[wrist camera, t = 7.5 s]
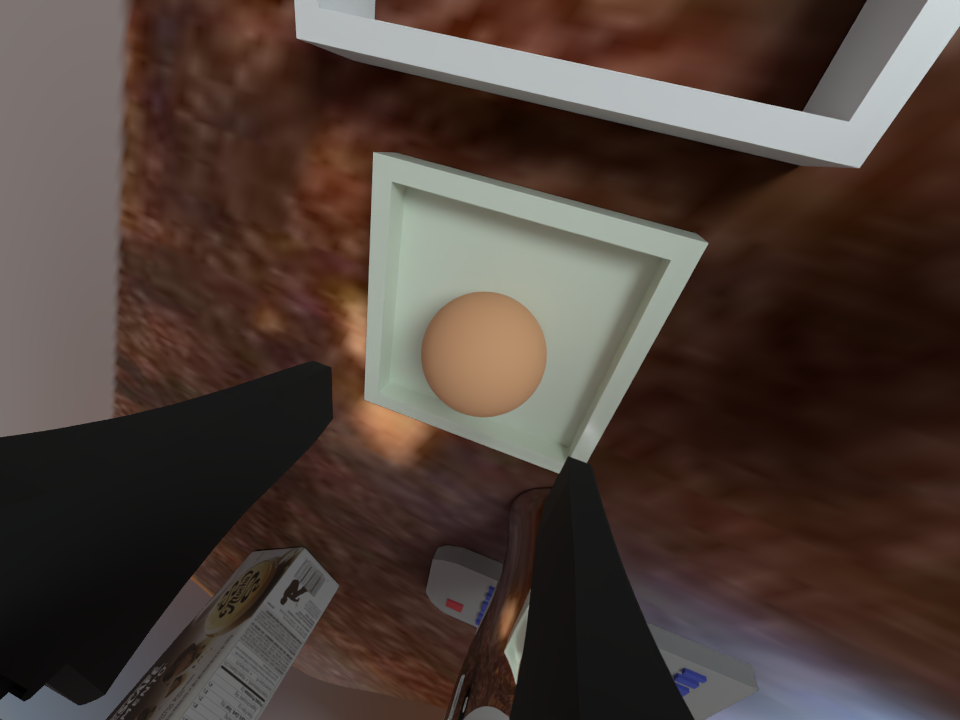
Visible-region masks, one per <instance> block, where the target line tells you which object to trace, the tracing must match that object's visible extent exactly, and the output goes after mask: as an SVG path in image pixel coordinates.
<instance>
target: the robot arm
mask: <svg viewBox="0 0 960 720" xmlns="http://www.w3.org/2000/svg"><path fill="white" fill-rule="evenodd" d="M332 419H333V406H332V375H331V367H329V366H326V365H323V364H321V363H318V362H315V361H311V362H307V363H304V364H301V365H297V366H294V367H291V368H288V369H285V370H282V371H279V372H276V373H273V374H270V375H267V376H264V377H261V378H258V379H255V380H252V381H249V382H246V383H243V384H240V385H237V386H234V387H231V388H228V389H224V390H221V391H218V392H214V393H211V394H208V395H204V396H201V397H197V398H194V399H191V400H187V401H184V402H180V403H177V404H173V405H169V406H165V407H161V408H157V409H153V410H149V411H144V412H140V413H136V414H131V415H127V416H123V417H118V418H113V419H108V420H102V421H97V422H92V423H87V424H81V425H75V426H70V427H65V428H59V429H54V430H47V431H42V432H34V433H28V434H21V435H14V436H7V437H0V699H2V697H4V696H5V695H6V694H7V693H8V692H10V693H11V694H13V695H14V696H16V697H18V698H19V699H21V700H23V701H26V700H28V699H30V698H31V697H32V696H33V695H34V694H35V693H36V692H37V691H38V690H39V689H41V688H42V687H43V686H44V685H45V686H47V687H49V688H50V689H52V690H54V691H55V692H57V693H59V694H61V695H62V696H64V697H66V698H67V699H69V700H71V701H72V702H74V703H76V704H77V705H83V704H87V703H89V702H91V701H94V700H96V699H98V698H100V697H102V696H103V695H105V694H106V692H107V691H108V689H109V688H110V687H111V685H112V684H113V682H114V680H115V679H116V678H117V676H118V675H119V673H120V672H121V671H122V669H123V668H124V666H125V665H126V664H127V662H128V661H129V659H130V658H131V657H132V655H133V654H134V652H135V651H136V650H137V648H138V647H139V645H140V644H141V642H142V641H143V640H144V638H145V637H146V635H147V634H148V633H149V631H150V630H151V628H152V627H153V626H154V625H155V623H156V622H157V620H158V619H159V618H160V617H161V615H162V614H163V613H164V611H165V610H166V609H167V607H168V606H169V605H170V603H171V602H172V601H173V599H174V598H175V597H176V595H177V594H178V593H179V591H180V590H181V589H182V587H183V586H184V585H185V583H186V582H187V581H188V580H189V579H190V577H191V576H192V575H193V574H194V572H195V571H196V570H197V569H198V568H199V566H200V565H201V564H202V563H203V561H204V560H205V559H206V558H207V556H208V555H209V554H210V553H211V551H212V550H213V549H214V548H215V547H216V545H217V544H218V543H219V542H220V541H221V539H222V538H223V537H224V536H225V535H226V534H227V532H228V531H229V530H230V529H231V528H232V526H233V525H234V524H235V523H236V522H237V521H238V519H239V518H240V517H241V516H242V515H243V514H244V513H245V512H246V511H247V510H248V509H249V508H250V507H251V506H252V505H253V504H254V503H255V502H256V501H257V500H258V499H259V498H260V497H261V496H262V495H263V494H264V493H265V492H266V491H267V490H268V489H269V488H270V487H271V486H272V485H273V484H274V483H275V482H276V481H277V480H278V479H279V478H280V477H281V476H282V475H283V474H284V473H285V472H286V471H287V470H288V469H289V468H290V467H291V466H292V465H293V464H294V463H295V462H296V461H297V460H298V459H299V458H300V457H301V456H302V455H303V454H304V453H305V452H306V451H307V450H308V449H309V448H310V447H311V446H312V445H313V443H314V442H315V441H316V440H317V438H318V437H319V436H320V435H321V433H322V432H323V431H324V429H325V428H326V427H327V425H328V424H329V423H330V421H331V420H332ZM0 720H2V719H0ZM509 720H695V719H694V717H693V715H692V713H691V712H690V710H689V708H688V706H687V704H686V702H685V701H684V699H683V697H682V695H681V693H680V691H679V689H678V687H677V685H676V683H675V681H674V679H673V677H672V675H671V673H670V671H669V669H668V667H667V665H666V663H665V661H664V659H663V657H662V655H661V653H660V651H659V649H658V646H657V644H656V642H655V640H654V638H653V636H652V633H651V631H650V629H649V627H648V625H647V623H646V620H645V618H644V616H643V613H642V611H641V609H640V607H639V604H638V602H637V599H636V597H635V595H634V592H633V590H632V587H631V585H630V582H629V580H628V577H627V575H626V572H625V569H624V567H623V564H622V561H621V559H620V556H619V553H618V550H617V547H616V545H615V542H614V539H613V536H612V533H611V530H610V527H609V524H608V521H607V518H606V515H605V511H604V508H603V505H602V501H601V498H600V494H599V491H598V487H597V483H596V479H595V475H594V471H593V468H592V466H591V464H588V463H585V462H583V461H580V460H577V459H575V458H572V457H569V456H568V457H567V459H566V461H565V463H564V465H563V467H562V469H561V471H560V473H559V475H558V477H557V479H556V481H555V483H554V485H553V487H552V489H551V491H550V493H549V495H548V497H547V499H546V501H545V504H544V508H543V513H542V517H541V521H540V526H539V530H538V535H537V540H536V548H535V557H534V565H533V574H532V583H531V592H530V601H529V610H528V618H527V627H526V634H525V641H524V648H523V654H522V659H521V664H520V669H519V674H518V679H517V684H516V689H515V694H514V699H513V704H512V708H511V713H510V718H509Z"/></svg>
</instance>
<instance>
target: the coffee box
mask: <svg viewBox="0 0 960 720" xmlns="http://www.w3.org/2000/svg"><path fill="white" fill-rule="evenodd" d="M338 588H339V585H338V584H337V582H336V581H335V580H334V579H333V578H332V577H331V576H330V575H329V574H328V573H327V571H326V570H325V569H324V568H323V567H322V566H321V565H320V564H319V563H318V562H317V560H316V559H315V558H314V557H313V556H312V555H311V554H310V553H309V552H308V551H307V549H306V548H304V547H297V548H287V549H276V550H266V551H255V552H252V553H251V554H250V555H249V556H248V557H247V558H246V559H245V561H244V562H243V563H242V564H241V565H240V566H239V568H238V569H237V570H236V571H235V572H234V573H233V574H232V576H231V577H230V578H229V579H228V580H227V581H226V582H225V584H224V585H223V586H222V587H221V588H220V589H219V590H218V591H217V593H216V594H215V595H214V596H213V597H212V599H211V600H210V601H209V602H208V603H207V604H206V605H205V607H204V608H203V609H202V610H201V611H200V612H199V613H198V615H197V616H196V617H195V618H194V619H193V621H192V622H191V623H190V624H189V625H188V626H187V627H186V628H185V629H184V630H183V632H182V633H181V634H180V635H179V636H178V637H177V638H176V640H175V641H174V642H173V643H172V645H170V647H169V648H168V649H167V650H166V651H165V652H164V653H163V654H162V656H161V657H160V658H159V659H158V660H157V661H156V663H155V664H154V665H153V666H152V667H151V668H150V670H149V671H148V672H147V673H146V674H145V675H144V676H143V677H142V679H141V680H140V681H139V682H138V683H137V684H136V686H135V687H134V688H133V689H132V690H131V691H130V692H129V694H128V695H127V696H126V697H125V698H124V699H123V701H121V703H120V704H119V705H118V706H117V707H116V708H115V710H114V711H113V712H112V713H111V714H110V715H109V716H108V718H107V719H106V720H258V719H259V718H260V716H261V714H262V713H263V711H264V709H265V708H266V706H267V704H268V702H269V701H270V699H271V698H272V696H273V695H274V693H275V691H276V689H277V688H278V686H279V685H280V683H281V681H282V680H283V678H284V676H285V675H286V673H287V671H288V670H289V668H290V666H291V665H292V663H293V662H294V660H295V658H296V657H297V655H298V653H299V652H300V650H301V649H302V647H303V645H304V644H305V642H306V640H307V639H308V637H309V635H310V634H311V632H312V630H313V629H314V627H315V625H316V624H317V622H318V620H319V619H320V617H321V616H322V614H323V612H324V611H325V609H326V607H327V606H328V604H329V602H330V601H331V599H332V597H333V596H334V594H335V593H336V591H337V589H338Z"/></svg>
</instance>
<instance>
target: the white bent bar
mask: <svg viewBox="0 0 960 720" xmlns="http://www.w3.org/2000/svg"><path fill="white" fill-rule="evenodd" d="M294 2H295V20H296V37H297V39H300V40H302V41H305V42H307V43H310V44H312V45H315V46H317V47H320V48H323V49H325V50H328V51H330V52H333V53H335V54H338V55H340V56H343V57H346V58H348V59H351V60H353V61H357V62H361V63H366V64H370V65H374V66H378V67H383V68H387V69H391V70H395V71H400V72H404V73H408V74H412V75H417V76H421V77H425V78H429V79H434V80H438V81H442V82H446V83H451V84H455V85H459V86H464V87H468V88H472V89H476V90H481V91H485V92H489V93H493V94H498V95H502V96H506V97H510V98H515V99H519V100H523V101H527V102H532V103H536V104H540V105H544V106H549V107H553V108H557V109H561V110H566V111H570V112H574V113H579V114H583V115H587V116H591V117H596V118H600V119H604V120H608V121H613V122H617V123H621V124H625V125H630V126H634V127H638V128H642V129H647V130H651V131H655V132H659V133H664V134H668V135H672V136H676V137H681V138H685V139H689V140H694V141H698V142H702V143H706V144H711V145H715V146H719V147H723V148H728V149H732V150H736V151H740V152H745V153H749V154H753V155H757V156H762V157H766V158H770V159H774V160H779V161H783V162H787V163H791V164H796V165H800V166H818V167H842V168H860V167H861V165H862V164H863V162H864V161H865V159H866V158H867V157H868V155H869V154H870V152H871V151H872V150H873V148H874V147H875V145H876V144H877V142H878V141H879V140H880V138H881V137H882V135H883V134H884V133H885V131H886V130H887V128H888V127H889V125H890V124H891V123H892V121H893V120H894V118H895V117H896V115H897V114H898V113H899V111H900V110H901V108H902V107H903V106H904V104H905V103H906V101H907V100H908V98H909V97H910V96H911V94H912V93H913V91H914V90H915V89H916V87H917V86H918V84H919V83H920V81H921V80H922V79H923V77H924V76H925V74H926V73H927V72H928V70H929V69H930V67H931V66H932V64H933V63H934V62H935V60H936V59H937V57H938V56H939V54H940V53H941V52H942V50H943V49H944V47H945V46H946V45H947V43H948V42H949V40H950V39H951V37H952V36H953V35H954V33H955V32H956V30H957V29H958V28H959V26H960V0H867V1H866V3H865V5H864V6H863V8H862V10H861V11H860V13H859V15H858V17H857V18H856V20H855V22H854V24H853V25H852V27H851V29H850V30H849V32H848V34H847V36H846V37H845V39H844V41H843V42H842V44H841V46H840V48H839V49H838V51H837V53H836V54H835V56H834V58H833V60H832V61H831V63H830V65H829V67H828V68H827V70H826V72H825V73H824V75H823V77H822V79H821V80H820V82H819V84H818V85H817V87H816V89H815V91H814V92H813V94H812V96H811V97H810V99H809V101H808V103H807V104H806V106H805V108H804V110H803V111H802V112H801V111H797V110H792V109H787V108H783V107H778V106H773V105H769V104H764V103H760V102H755V101H750V100H746V99H741V98H736V97H732V96H727V95H722V94H718V93H713V92H708V91H704V90H699V89H694V88H690V87H685V86H681V85H676V84H671V83H667V82H662V81H657V80H653V79H648V78H643V77H639V76H634V75H629V74H625V73H620V72H615V71H611V70H606V69H602V68H597V67H592V66H588V65H583V64H578V63H574V62H569V61H564V60H560V59H555V58H550V57H546V56H541V55H536V54H532V53H527V52H523V51H518V50H513V49H509V48H504V47H499V46H495V45H490V44H485V43H481V42H476V41H471V40H467V39H462V38H457V37H453V36H448V35H444V34H439V33H434V32H430V31H425V30H420V29H416V28H411V27H406V26H402V25H397V24H392V23H388V22H383V21H378V20H375V0H294Z"/></svg>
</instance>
